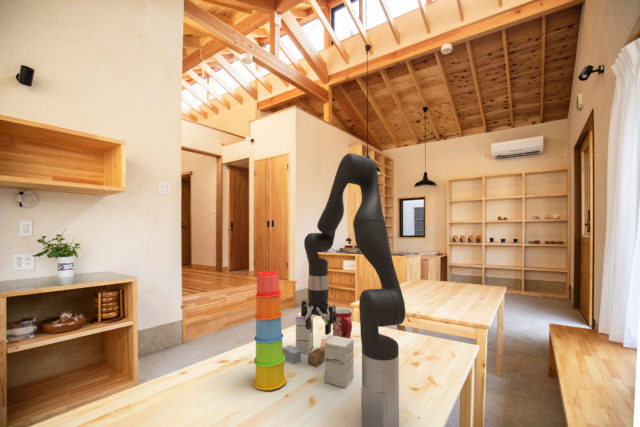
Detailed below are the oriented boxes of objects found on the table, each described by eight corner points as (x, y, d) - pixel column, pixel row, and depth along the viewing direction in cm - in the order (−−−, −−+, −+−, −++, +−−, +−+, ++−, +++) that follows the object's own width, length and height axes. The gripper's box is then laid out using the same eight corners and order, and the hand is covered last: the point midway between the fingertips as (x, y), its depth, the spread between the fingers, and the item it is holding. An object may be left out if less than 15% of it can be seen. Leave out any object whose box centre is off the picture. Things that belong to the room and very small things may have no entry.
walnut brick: (315, 367, 102) (315, 356, 103) (307, 365, 105) (308, 353, 105) (327, 360, 108) (327, 349, 108) (319, 357, 110) (319, 347, 110)
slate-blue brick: (301, 362, 107) (301, 350, 107) (293, 365, 105) (293, 353, 105) (289, 355, 112) (289, 345, 112) (282, 358, 110) (282, 347, 110)
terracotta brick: (329, 357, 110) (329, 346, 111) (320, 357, 111) (320, 346, 111) (330, 349, 117) (330, 339, 118) (321, 349, 118) (321, 339, 118)
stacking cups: (254, 394, 86) (255, 275, 88) (252, 376, 96) (254, 270, 97) (289, 389, 89) (289, 274, 90) (284, 372, 99) (284, 269, 100)
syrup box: (310, 354, 113) (310, 316, 113) (295, 353, 114) (295, 315, 115) (313, 348, 118) (313, 312, 119) (299, 347, 120) (299, 311, 120)
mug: (328, 339, 128) (328, 308, 128) (347, 336, 131) (347, 306, 131) (339, 351, 116) (339, 316, 116) (359, 348, 119) (359, 314, 119)
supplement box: (323, 382, 92) (323, 342, 93) (333, 372, 99) (333, 334, 100) (345, 389, 89) (345, 346, 90) (354, 377, 96) (354, 338, 96)
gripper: (296, 286, 109) (296, 330, 108) (328, 291, 100) (328, 339, 100) (309, 283, 115) (308, 324, 114) (340, 287, 107) (339, 332, 106)
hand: (317, 331), depth 107 cm, fingers open, 8 cm apart
